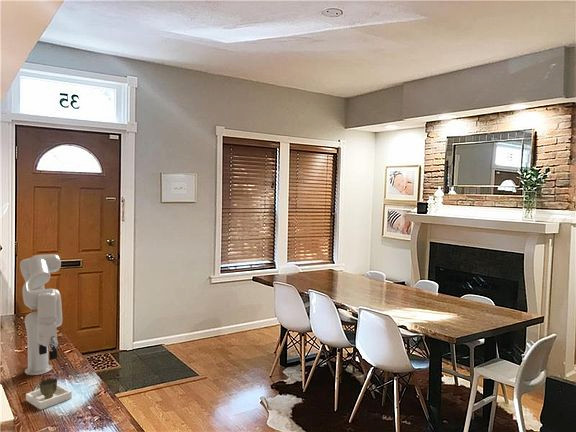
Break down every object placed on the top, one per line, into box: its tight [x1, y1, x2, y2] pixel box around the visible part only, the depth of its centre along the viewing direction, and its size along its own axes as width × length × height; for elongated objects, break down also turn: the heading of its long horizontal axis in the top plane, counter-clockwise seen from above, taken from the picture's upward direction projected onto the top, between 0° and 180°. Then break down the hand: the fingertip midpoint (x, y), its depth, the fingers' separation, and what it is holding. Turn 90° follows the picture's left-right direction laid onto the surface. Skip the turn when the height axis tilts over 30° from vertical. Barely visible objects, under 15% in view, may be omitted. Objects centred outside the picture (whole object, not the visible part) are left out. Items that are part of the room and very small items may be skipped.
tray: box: [25, 383, 73, 410], centre depth 212 cm, size 14×14×3 cm
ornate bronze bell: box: [38, 377, 58, 399], centre depth 212 cm, size 8×7×8 cm
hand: (48, 356), depth 211 cm, fingers open, 9 cm apart
